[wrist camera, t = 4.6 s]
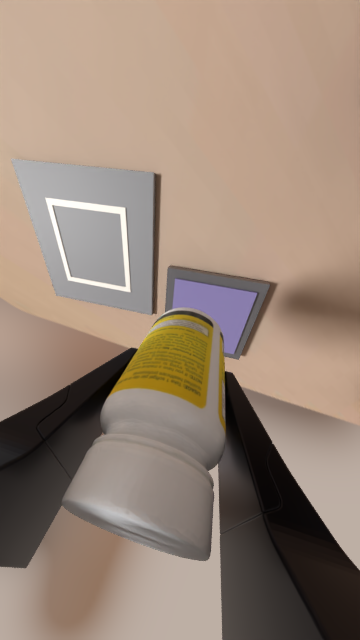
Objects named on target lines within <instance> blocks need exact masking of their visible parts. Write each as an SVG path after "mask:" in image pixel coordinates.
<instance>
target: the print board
mask: <svg viewBox="0 0 360 640" xmlns="http://www.w3.org/2000/svg"><path fill="white" fill-rule="evenodd" d="M11 160H12V163H13V166H14V169H15V172H16V175H17V178H18V181H19V184H20V187H21V190H22V193H23V196H24V199H25V202H26V205H27V208H28V211H29V215H30V218H31V221H32V224H33V227H34V230H35V233H36V236H37V239H38V242H39V245H40V248H41V251H42V254H43V257H44V260H45V263H46V266H47V269H48V272H49V275H50V278H51V281H52V284H53V287H54V290H55V293H56V296H61V297H66V298H71V299H76V300H80V301H85V302H90V303H95V304H100V305H105V306H109V307H114V308H119V309H124V310H129V311H134V312H138V313H143V314H148V315H152V314H153V282H154V226H155V173H153V172H143V171H132V170H122V169H112V168H101V167H91V166H81V165H70V164H60V163H50V162H39V161H29V160H19V159H11Z"/></svg>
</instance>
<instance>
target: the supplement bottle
mask: <svg viewBox="0 0 360 640" xmlns="http://www.w3.org/2000/svg"><path fill="white" fill-rule="evenodd" d="M100 423H101V427H102V430H103V433H104V435H103V436H100V437H98V438H96V439H95V440H94V442H93V444H92V447H91V448H90V449H89V450H88V451H87V453H86V455H85V457H84V459H83V461H82V463H81V465H80V466H79V468H78V470H77V472H76V474H75V476H74V478H73V480H72V482H71V483H70V485H69V487H68V489H67V491H66V492H65V495H64V497H63V499H62V505H63V507H64V508H65V509H66V510H68V511H69V512H71V513H72V514H74V515H76V516H78V517H79V518H81V519H83V520H85V521H87V522H89V523H91V524H93V525H96V526H97V527H100V528H102V529H104V530H107V531H109V532H111V533H114V534H116V535H118V536H121V537H123V538H126V539H128V540H131V541H133V542H136V543H139V544H141V545H144V546H147V547H150V548H153V549H155V550H158V551H162V552H165V553H168V554H172V555H175V556H179V557H183V558H188V559H193V560H199V561H206V560H208V559H209V557H210V552H211V538H212V518H213V502H214V492H213V486H214V485H213V479H212V477H211V475H210V474H209V472H208V471H209V470H211V469H212V468H214V467H215V466H216V465H217V464H218V463H219V462H220V460H221V458H222V456H223V454H224V450H225V441H226V423H225V362H224V337H223V333H222V331H221V328H220V327H219V325H218V324H217V323H216V321H215V320H214V319H212V318H211V317H210V316H209V315H207V314H206V313H204V312H202V311H200V310H197V309H193V308H184V307H183V308H175V309H172V310H169V311H167V312H165V313H164V314H163V315H161V316H160V317H159V318H158V319H157V321H156V322H155V323H154V325H153V326H152V328H151V330H150V331H149V333H148V335H147V336H146V338H145V339H144V341H143V342H142V344H141V345H140V347H139V349H138V350H137V352H136V353H135V355H134V356H133V358H132V360H131V361H130V363H129V364H128V366H127V368H126V369H125V371H124V372H123V374H122V375H121V377H120V379H119V380H118V382H117V383H116V385H115V386H114V388H113V389H112V391H111V393H110V394H109V396H108V397H107V399H106V401H105V403H104V405H103V407H102V410H101V415H100Z"/></svg>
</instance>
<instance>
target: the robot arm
mask: <svg viewBox="0 0 360 640" xmlns="http://www.w3.org/2000/svg"><path fill="white" fill-rule="evenodd" d="M137 350H138V349H136V348H130V349H128V350H126V351H125V352H123V353H121V354H120V355H118V356H117V357H115V358H113V359H111V360H110V361H108V362H106V363H105V364H103V365H101V366H100V367H98V368H96V369H95V370H93V371H91V372H90V373H88V374H86V375H85V376H83V377H82V378H80V379H78V380H77V381H75V382H73V383H71V385H68V386H66V387H65V388H63V389H61V390H60V391H58V392H56V393H54V394H53V395H51V396H49V397H48V398H46V399H44V400H42V401H40V402H38V403H36V404H34V405H32V406H30V407H28V408H26V409H25V410H23V411H20V412H18V413H17V414H15V415H13V416H11V417H9V418H7V419H5V420H3V421H1V422H0V567H14V568H26V567H27V566H28V564H29V562H30V561H31V559H32V557H33V556H34V554H35V552H36V550H37V548H38V547H39V545H40V543H41V541H42V539H43V538H44V536H45V534H46V532H47V531H48V529H49V527H50V525H51V523H52V522H53V520H54V518H55V516H56V515H57V513H58V511H59V509H60V507H61V506H62V499H63V497H64V495H65V492H66V491H67V489H68V487H69V485H70V483H71V482H72V480H73V478H74V476H75V474H76V472H77V470H78V468H79V466H80V465H81V463H82V461H83V459H84V457H85V455H86V453H87V451H88V450H89V449H90V448H91V447H92V444H93V442H94V440H95V439H96V438H98V437H100V436H101V434H102V432H103V430H102V427H101V423H100V415H101V410H102V407H103V405H104V403H105V401H106V399H107V397H108V396H109V394H110V393H111V391H112V389H113V388H114V386H115V385H116V383H117V382H118V380H119V379H120V377H121V375H122V374H123V372H124V371H125V369H126V368H127V366H128V364H129V363H130V361H131V360H132V358H133V356H134V355H135V353H136V352H137ZM225 423H226V441H225V450H224V454H223V456H222V458H221V460H220V462H219V463H218V468H219V469H218V472H219V513H220V534H221V535H220V554H221V555H220V557H221V598H222V599H221V600H222V639H223V640H360V570H359V569H358V568H357V567H356V566H355V565H354V563H353V562H352V561H351V560H350V559H349V557H348V556H347V555H346V554H345V552H344V551H343V550H342V548H341V547H340V546H339V544H338V543H337V541H336V540H335V539H334V537H333V536H332V534H331V533H330V531H329V530H328V528H327V527H326V525H325V524H324V522H323V521H322V519H321V518H320V516H319V515H318V513H317V512H316V510H315V509H314V507H313V506H312V505H311V503H310V502H309V500H308V498H307V497H306V496H305V494H304V493H303V491H302V489H301V488H300V486H299V485H298V483H297V482H296V480H295V479H294V477H293V476H292V474H291V472H290V471H289V469H288V468H287V466H286V464H285V463H284V461H283V459H282V458H281V456H280V454H279V453H278V451H277V449H276V447H275V446H274V444H272V441H271V439H270V437H269V435H268V434H267V432H266V430H265V428H264V427H263V425H262V423H261V421H260V420H259V418H258V416H257V414H256V413H255V411H254V410H253V407H252V406H251V404H250V402H249V401H248V399H247V397H246V395H245V394H244V392H243V390H242V388H241V387H240V385H239V383H238V381H237V380H236V378H235V376H234V374H233V373H231V372H227V371H225Z"/></svg>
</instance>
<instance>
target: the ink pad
mask: <svg viewBox="0 0 360 640" xmlns="http://www.w3.org/2000/svg"><path fill="white" fill-rule="evenodd" d="M269 287H270V284H269V282H266V281H260V280H254V279H248V278H242V277H236V276H230V275H224V274H218V273H212V272H206V271H200V270H194V269H188V268H182V267H176V266H169V267H168V273H167V289H166V305H165V312H167V311H169V310H172V309H175V308H183V307H184V308H193V309H197V310H200V311H202V312H204V313H206V314H207V315H209V316H210V317H211V318H212V319H214V320H215V321H216V323H217V324H218V325H219V327H220V328H221V331H222V333H223V337H224V356H225V357H229V358H234V359H238V360H239V358H240V355H241V353H242V351H243V348H244V346H245V344H246V341H247V339H248V336H249V334H250V332H251V329H252V327H253V325H254V322H255V320H256V318H257V315H258V313H259V310H260V308H261V306H262V303H263V301H264V299H265V296H266V294H267V291H268V289H269Z"/></svg>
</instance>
